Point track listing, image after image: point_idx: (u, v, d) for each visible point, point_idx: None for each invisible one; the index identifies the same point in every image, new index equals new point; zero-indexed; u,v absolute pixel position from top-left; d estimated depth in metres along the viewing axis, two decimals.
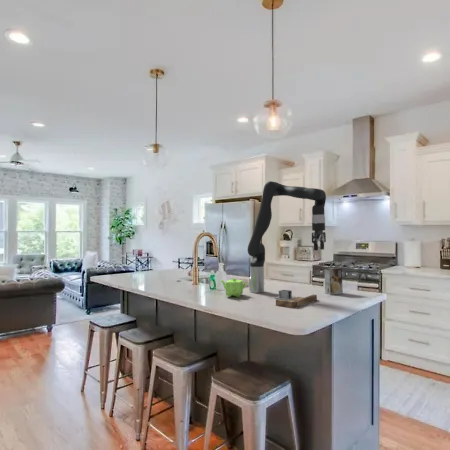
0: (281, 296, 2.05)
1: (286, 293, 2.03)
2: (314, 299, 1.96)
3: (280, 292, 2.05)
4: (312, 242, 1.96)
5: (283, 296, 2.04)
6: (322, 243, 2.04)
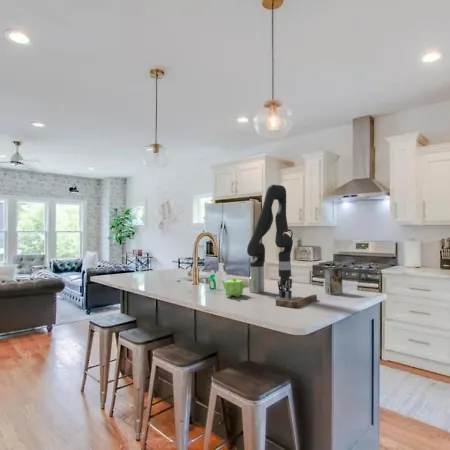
0: None
1: (286, 293, 2.03)
2: (314, 299, 1.96)
3: (280, 292, 2.05)
4: (279, 290, 2.02)
5: None
6: (287, 289, 2.08)
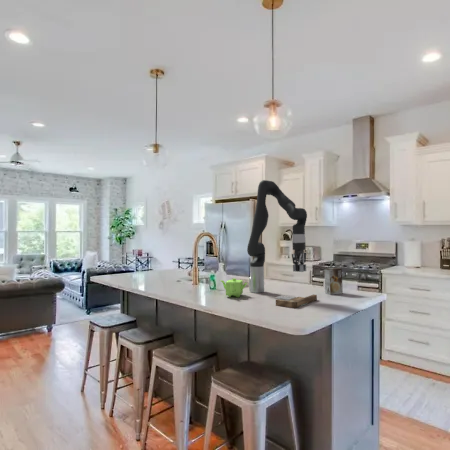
0: None
1: (301, 266, 1.97)
2: (314, 299, 1.96)
3: (294, 266, 1.99)
4: (293, 263, 1.96)
5: None
6: (301, 263, 2.02)
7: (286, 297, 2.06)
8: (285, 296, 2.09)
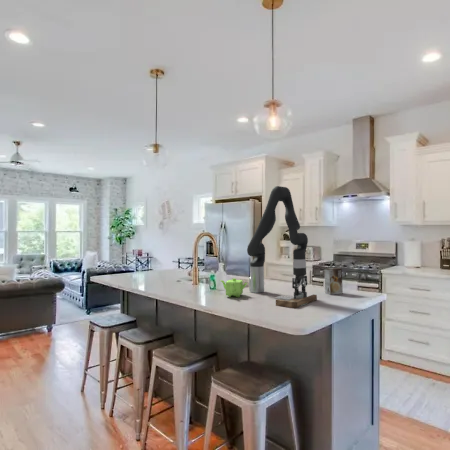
0: (296, 297, 1.99)
1: (301, 294, 1.96)
2: (314, 299, 1.96)
3: None
4: None
5: (298, 297, 1.98)
6: (303, 287, 2.03)
7: (286, 297, 2.06)
8: (285, 296, 2.09)
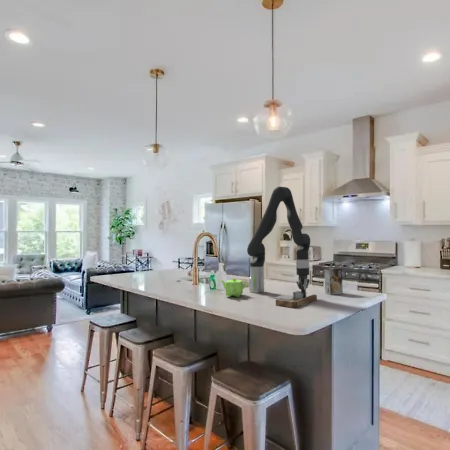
0: (295, 298, 1.98)
1: (301, 295, 1.96)
2: (314, 299, 1.96)
3: (294, 294, 1.98)
4: (299, 288, 2.01)
5: (298, 298, 1.97)
6: None
7: (286, 297, 2.06)
8: (285, 296, 2.09)
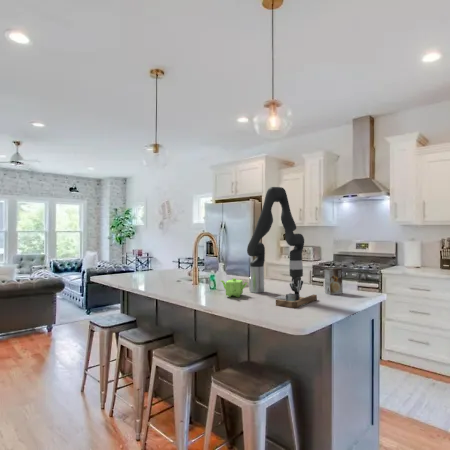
0: (288, 300, 1.91)
1: (293, 297, 1.89)
2: (314, 299, 1.96)
3: (287, 296, 1.92)
4: (292, 290, 1.94)
5: (290, 300, 1.90)
6: None
7: None
8: (285, 296, 2.09)
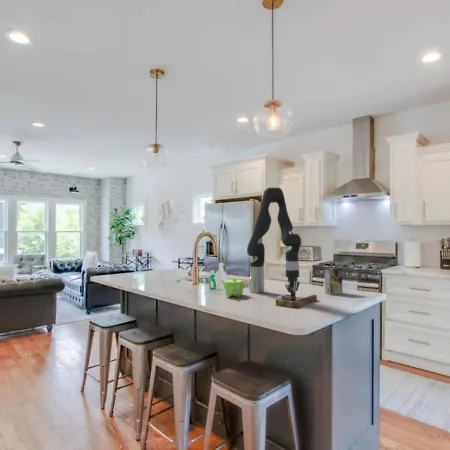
0: None
1: (289, 298, 1.86)
2: (314, 299, 1.96)
3: (283, 297, 1.89)
4: (289, 291, 1.91)
5: None
6: None
7: None
8: None
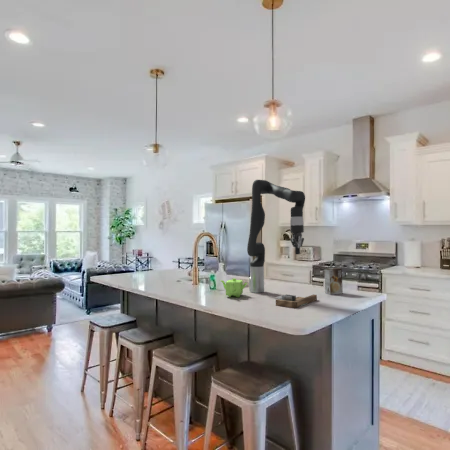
0: None
1: (289, 298, 1.86)
2: (314, 299, 1.96)
3: (283, 297, 1.89)
4: (293, 246, 1.97)
5: None
6: None
7: None
8: None
